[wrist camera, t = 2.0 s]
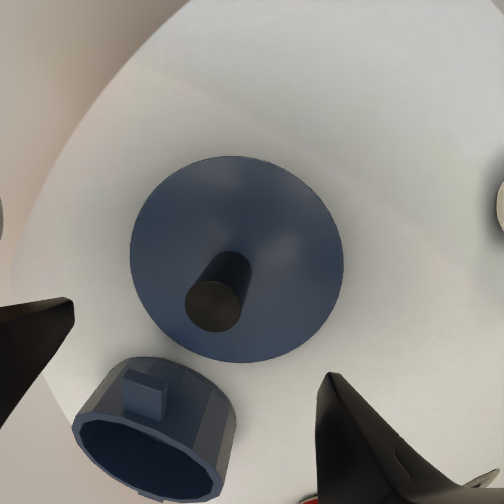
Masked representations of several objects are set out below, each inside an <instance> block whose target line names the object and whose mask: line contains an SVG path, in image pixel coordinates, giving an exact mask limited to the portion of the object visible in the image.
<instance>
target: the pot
mask: <svg viewBox="0 0 504 504" xmlns="http://www.w3.org/2000/svg"><path fill="white" fill-rule="evenodd" d="M235 428H236V418H235V413H234V410H233V408H232V406H231V404H230V402H229V400H228V399H227V398H226V396H225V395H224V394H223V393H222V392H221V391H220V390H219V389H218V388H217V387H216V386H215V385H214V384H213V383H212V382H210V381H209V380H208V379H206V378H205V377H203V376H202V375H200V374H199V373H197V372H195V371H193V370H191V369H189V368H187V367H185V366H183V365H180V364H177V363H175V362H172V361H168V360H164V359H160V358H154V357H136V358H131V359H128V360H125V361H123V362H121V363H119V364H118V365H117V366H116V367H114V368H113V369H112V370H111V371H110V372H109V373H108V375H107V376H106V377H105V379H104V380H103V381H102V382H101V384H100V385H99V386H98V387H97V389H96V390H95V391H94V393H93V394H92V395H91V396H90V398H89V399H88V400H87V402H86V403H85V404H84V406H83V407H82V408H81V410H80V411H79V412H78V413H77V415H76V416H75V419H74V422H73V425H72V431H73V434H74V437H75V439H76V442H77V444H78V445H79V446H80V448H81V449H82V450H83V452H84V453H85V454H86V455H87V456H88V457H89V459H90V460H91V461H92V462H93V463H94V464H96V465H97V466H98V467H99V468H100V469H102V470H103V471H104V472H105V473H107V474H108V475H109V476H111V477H112V478H114V479H115V480H117V481H119V482H121V483H123V484H124V485H126V486H128V487H130V488H132V489H134V490H136V491H138V494H139V495H142V496H144V497H147V498H150V499H153V500H156V501H159V502H163V500H168V501H173V502H179V503H198V502H206V501H209V500H211V499H213V498H215V497H218V496H219V495H220V493H221V491H222V488H223V486H224V482H225V477H226V472H227V468H228V463H229V458H230V453H231V448H232V443H233V438H234V433H235Z"/></svg>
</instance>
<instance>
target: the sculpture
mask: <svg viewBox="0 0 504 504" xmlns="http://www.w3.org/2000/svg"><path fill="white" fill-rule="evenodd" d="M499 472H500V469H497V470H494V471H491V472H490V473H488V474H484V475H482V476H480V477H477V478H476V479H474V480H472V481H471V482H469V483H467V484H465V485H463V487H469V488H486V487H487V486H488V485H489V484H490V483H491V482H492V481H493V480H494V479H495V478H496V477H497V475H498V474H499Z"/></svg>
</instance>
